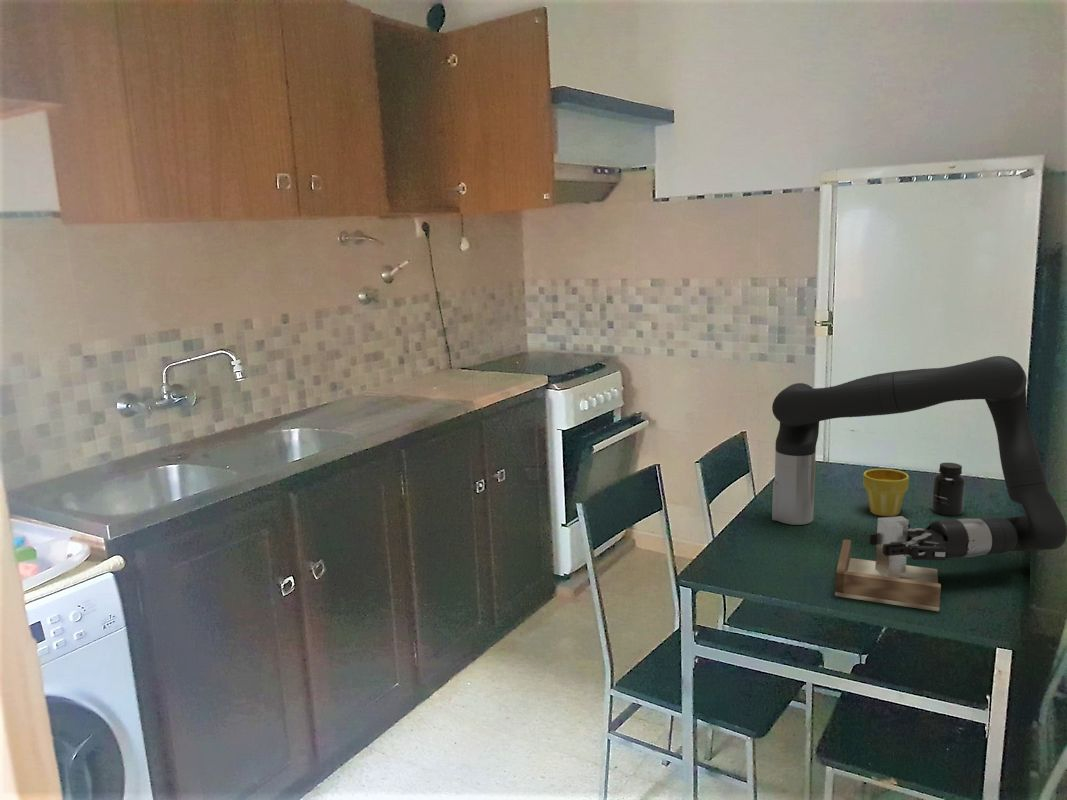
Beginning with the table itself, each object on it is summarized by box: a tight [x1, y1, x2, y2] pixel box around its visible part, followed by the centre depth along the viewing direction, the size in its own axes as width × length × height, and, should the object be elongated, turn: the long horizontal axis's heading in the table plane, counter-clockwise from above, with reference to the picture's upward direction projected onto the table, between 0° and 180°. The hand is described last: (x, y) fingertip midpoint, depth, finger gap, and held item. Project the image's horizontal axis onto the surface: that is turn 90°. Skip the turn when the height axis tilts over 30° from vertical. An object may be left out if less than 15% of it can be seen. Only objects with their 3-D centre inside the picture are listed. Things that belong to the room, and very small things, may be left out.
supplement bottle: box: [931, 462, 966, 517], centre depth 194 cm, size 7×7×12 cm
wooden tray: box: [834, 538, 942, 612], centre depth 158 cm, size 18×18×5 cm
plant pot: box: [862, 468, 910, 517], centre depth 196 cm, size 10×10×10 cm
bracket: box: [875, 515, 909, 578], centre depth 157 cm, size 5×5×11 cm
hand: (876, 544), depth 156 cm, fingers closed on bracket, 5 cm apart
